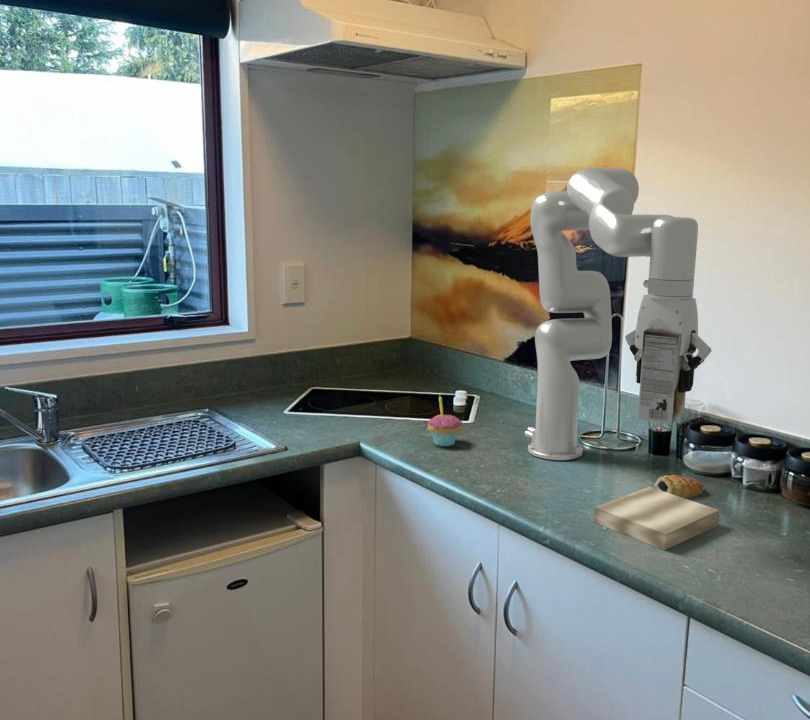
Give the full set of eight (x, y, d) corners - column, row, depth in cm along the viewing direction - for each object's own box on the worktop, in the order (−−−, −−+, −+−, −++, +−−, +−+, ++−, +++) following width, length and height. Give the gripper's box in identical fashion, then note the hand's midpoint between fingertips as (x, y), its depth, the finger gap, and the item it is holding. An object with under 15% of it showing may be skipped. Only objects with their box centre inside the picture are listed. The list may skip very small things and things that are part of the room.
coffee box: (649, 408, 149) (655, 322, 146) (685, 413, 146) (692, 326, 143) (636, 419, 142) (642, 329, 138) (673, 425, 138) (680, 333, 135)
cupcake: (420, 443, 194) (420, 395, 192) (443, 435, 200) (444, 389, 198) (446, 451, 188) (446, 402, 186) (469, 443, 194) (470, 395, 192)
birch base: (593, 522, 148) (594, 507, 148) (648, 500, 159) (649, 486, 158) (664, 550, 137) (665, 534, 136) (718, 525, 147) (719, 510, 147)
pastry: (690, 485, 168) (691, 468, 167) (710, 497, 162) (712, 479, 161) (651, 489, 165) (652, 472, 165) (670, 502, 159) (671, 484, 158)
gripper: (615, 285, 144) (610, 380, 147) (703, 295, 130) (695, 399, 134) (641, 283, 148) (635, 375, 152) (728, 292, 135) (719, 393, 138)
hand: (663, 386), depth 143 cm, fingers closed on coffee box, 8 cm apart
